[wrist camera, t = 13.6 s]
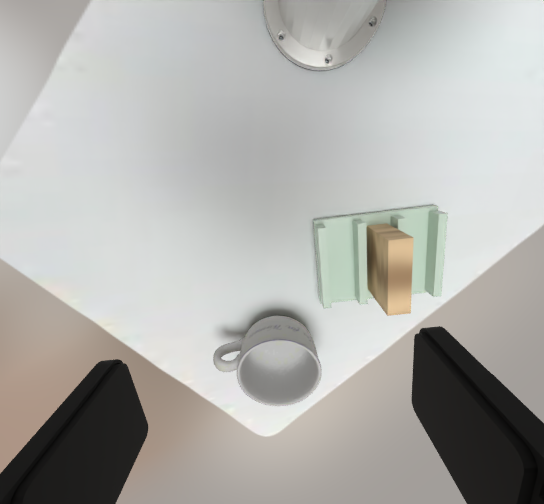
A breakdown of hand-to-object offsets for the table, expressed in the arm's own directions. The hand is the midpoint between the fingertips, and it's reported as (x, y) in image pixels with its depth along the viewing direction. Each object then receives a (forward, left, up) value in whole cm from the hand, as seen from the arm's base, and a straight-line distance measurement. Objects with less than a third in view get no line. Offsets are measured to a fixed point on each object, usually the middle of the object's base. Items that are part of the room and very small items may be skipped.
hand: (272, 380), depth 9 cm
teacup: (+18, -3, -29) cm, 34 cm away
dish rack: (+7, +13, -28) cm, 32 cm away
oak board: (+7, +13, -27) cm, 31 cm away
